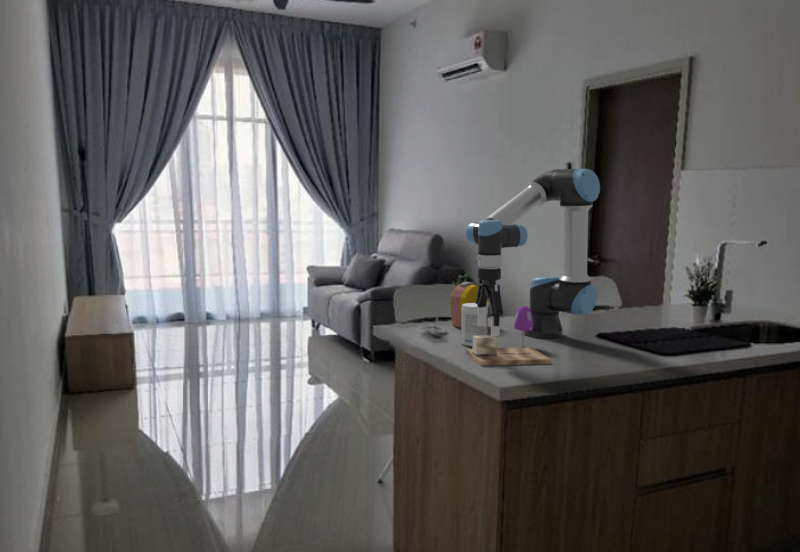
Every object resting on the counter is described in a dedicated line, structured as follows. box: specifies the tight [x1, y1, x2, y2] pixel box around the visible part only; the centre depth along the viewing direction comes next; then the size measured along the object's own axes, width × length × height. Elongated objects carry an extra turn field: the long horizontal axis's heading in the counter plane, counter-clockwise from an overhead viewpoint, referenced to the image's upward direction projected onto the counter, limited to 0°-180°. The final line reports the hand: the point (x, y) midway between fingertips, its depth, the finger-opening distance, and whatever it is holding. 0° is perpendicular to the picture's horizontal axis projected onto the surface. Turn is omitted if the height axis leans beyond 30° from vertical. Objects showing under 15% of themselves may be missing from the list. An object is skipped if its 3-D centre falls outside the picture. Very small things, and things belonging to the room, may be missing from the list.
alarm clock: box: [449, 281, 489, 329], centre depth 264 cm, size 15×8×18 cm, turn 133°
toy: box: [513, 305, 533, 348], centre depth 229 cm, size 7×7×15 cm
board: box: [465, 347, 552, 367], centre depth 212 cm, size 24×16×2 cm, turn 101°
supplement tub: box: [460, 303, 489, 347], centre depth 231 cm, size 10×10×15 cm
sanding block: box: [471, 334, 498, 356], centre depth 210 cm, size 7×4×6 cm, turn 101°
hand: (488, 330), depth 210 cm, fingers open, 13 cm apart
